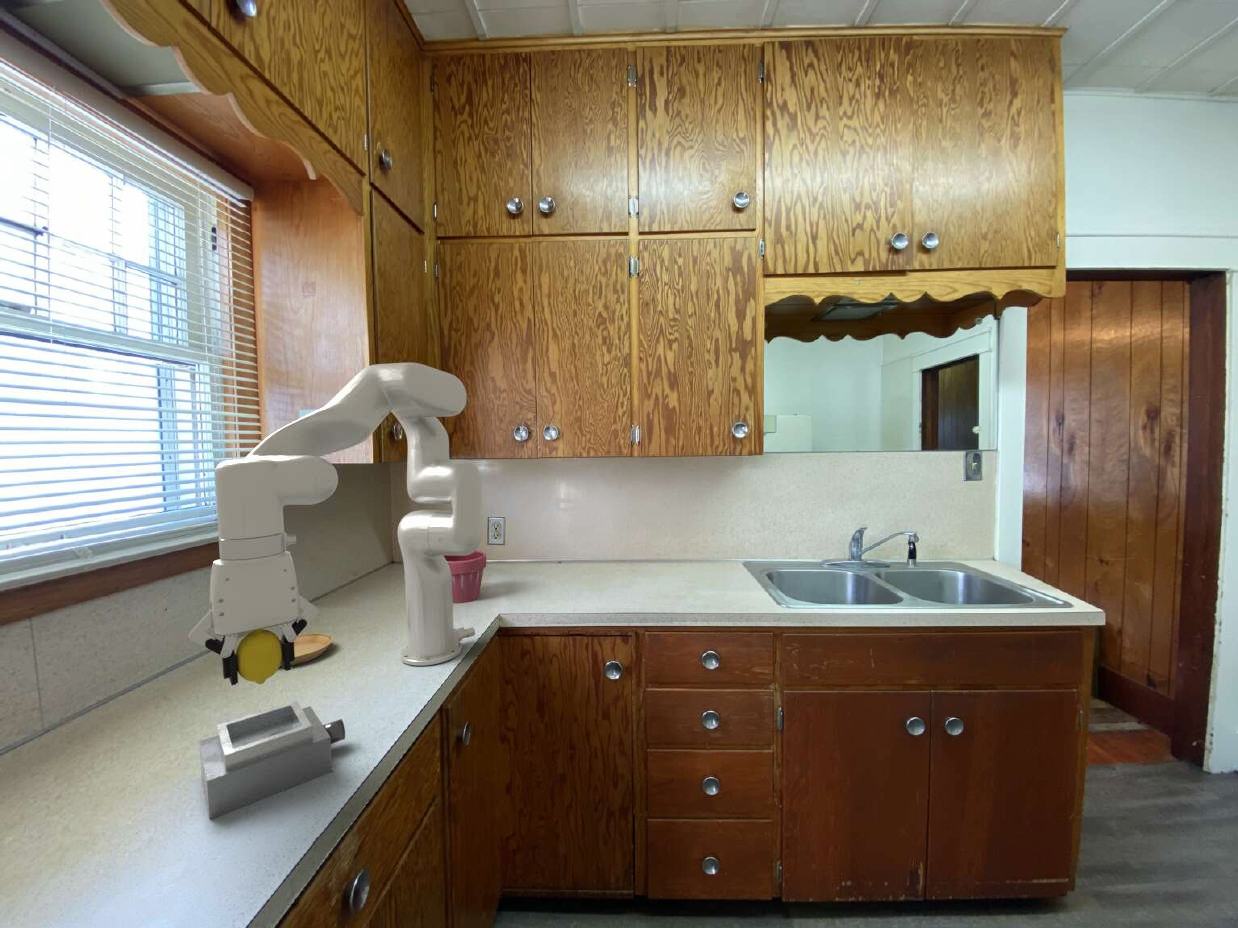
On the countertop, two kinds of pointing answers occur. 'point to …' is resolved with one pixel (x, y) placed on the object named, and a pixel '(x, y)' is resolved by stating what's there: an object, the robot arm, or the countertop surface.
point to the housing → (265, 755)
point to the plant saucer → (310, 646)
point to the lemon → (259, 656)
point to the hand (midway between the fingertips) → (260, 673)
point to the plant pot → (466, 575)
